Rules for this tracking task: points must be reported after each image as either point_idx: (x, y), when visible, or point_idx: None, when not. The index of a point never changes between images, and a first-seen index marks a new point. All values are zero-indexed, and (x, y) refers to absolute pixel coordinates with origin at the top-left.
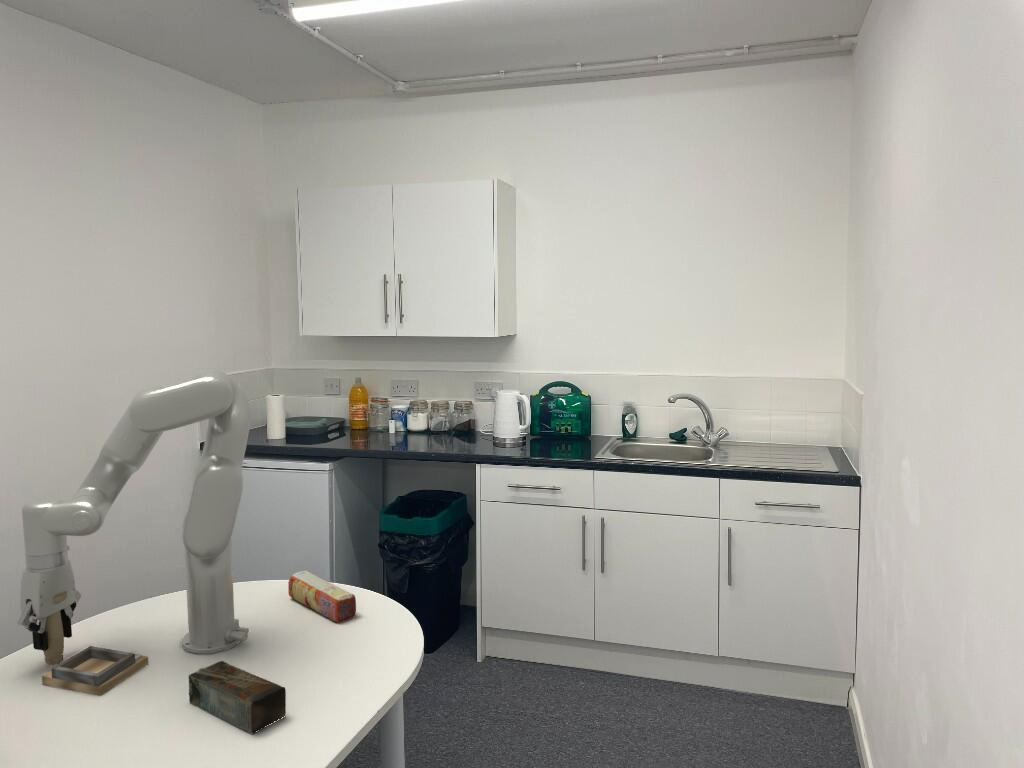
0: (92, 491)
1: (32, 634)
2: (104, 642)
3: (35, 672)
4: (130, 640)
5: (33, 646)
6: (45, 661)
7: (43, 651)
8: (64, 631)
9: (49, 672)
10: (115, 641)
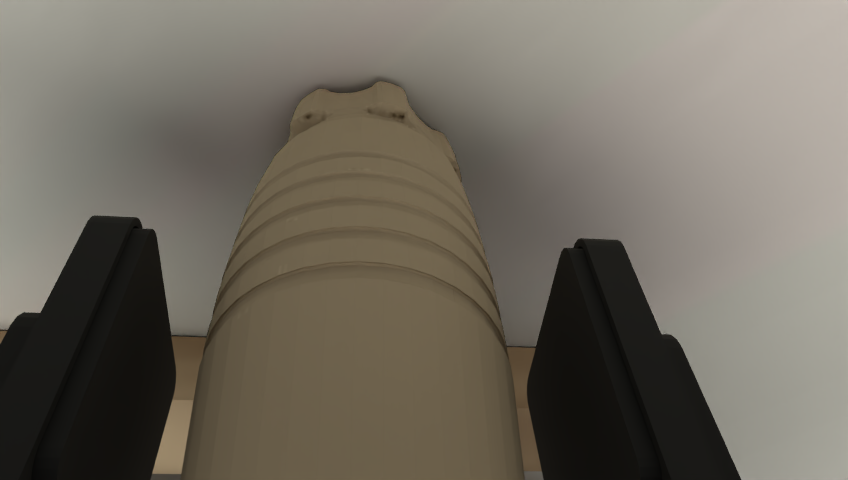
0: None
1: (2, 391)
2: (828, 290)
3: (113, 120)
4: (842, 426)
5: (83, 231)
6: (295, 112)
7: (256, 191)
8: (552, 409)
9: None
10: (838, 352)
